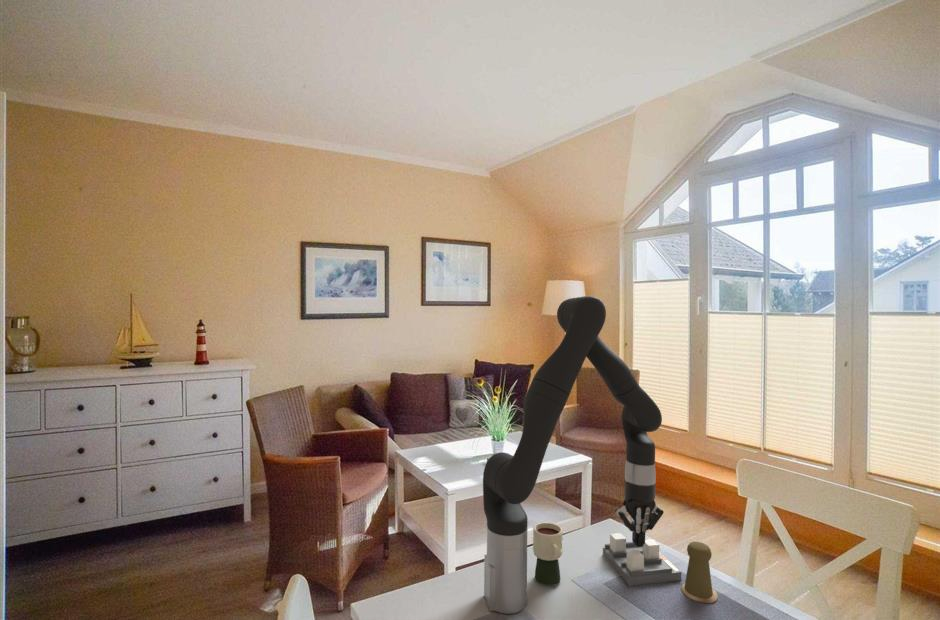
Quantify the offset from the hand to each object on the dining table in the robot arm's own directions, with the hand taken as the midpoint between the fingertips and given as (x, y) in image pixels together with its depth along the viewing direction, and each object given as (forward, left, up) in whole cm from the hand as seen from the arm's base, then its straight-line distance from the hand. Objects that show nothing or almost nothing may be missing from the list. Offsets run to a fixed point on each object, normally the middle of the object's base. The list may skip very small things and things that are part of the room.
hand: (638, 545), depth 122 cm
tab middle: (+4, 0, -4) cm, 5 cm away
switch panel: (+1, 0, -6) cm, 6 cm away
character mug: (-25, -2, -6) cm, 26 cm away
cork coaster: (+9, -12, -6) cm, 16 cm away
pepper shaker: (+9, -12, -6) cm, 16 cm away
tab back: (-3, +5, -4) cm, 7 cm away
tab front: (-3, -4, -4) cm, 6 cm away
